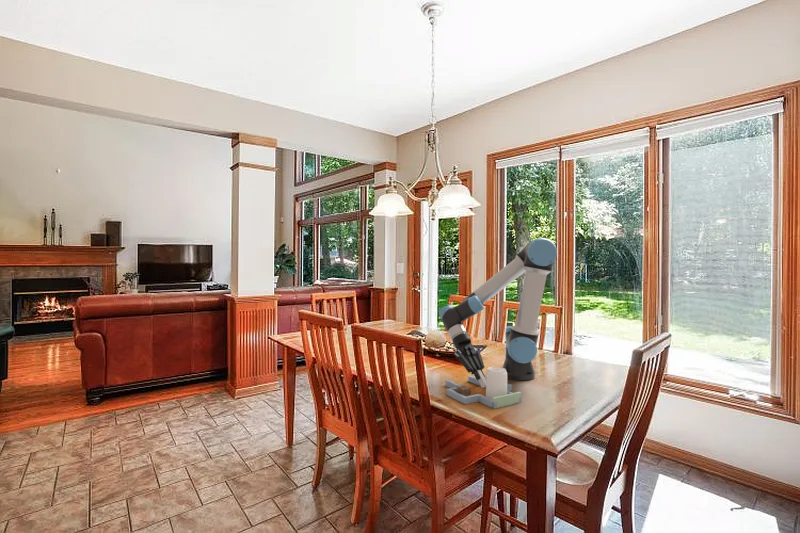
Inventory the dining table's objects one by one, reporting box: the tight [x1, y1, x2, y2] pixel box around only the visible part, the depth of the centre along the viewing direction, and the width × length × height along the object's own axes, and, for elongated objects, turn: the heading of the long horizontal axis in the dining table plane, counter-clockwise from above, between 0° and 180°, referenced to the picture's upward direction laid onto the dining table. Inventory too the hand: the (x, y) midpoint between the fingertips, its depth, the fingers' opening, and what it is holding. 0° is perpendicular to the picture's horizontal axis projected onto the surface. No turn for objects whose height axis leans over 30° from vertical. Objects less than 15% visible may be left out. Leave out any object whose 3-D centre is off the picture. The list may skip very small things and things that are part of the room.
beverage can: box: [485, 366, 508, 399], centre depth 154 cm, size 8×8×12 cm
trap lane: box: [445, 375, 522, 409], centre depth 161 cm, size 30×27×2 cm
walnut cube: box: [457, 384, 472, 396], centre depth 156 cm, size 4×4×4 cm
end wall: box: [491, 391, 523, 409], centre depth 148 cm, size 1×14×4 cm, turn 120°
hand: (484, 385), depth 158 cm, fingers closed
